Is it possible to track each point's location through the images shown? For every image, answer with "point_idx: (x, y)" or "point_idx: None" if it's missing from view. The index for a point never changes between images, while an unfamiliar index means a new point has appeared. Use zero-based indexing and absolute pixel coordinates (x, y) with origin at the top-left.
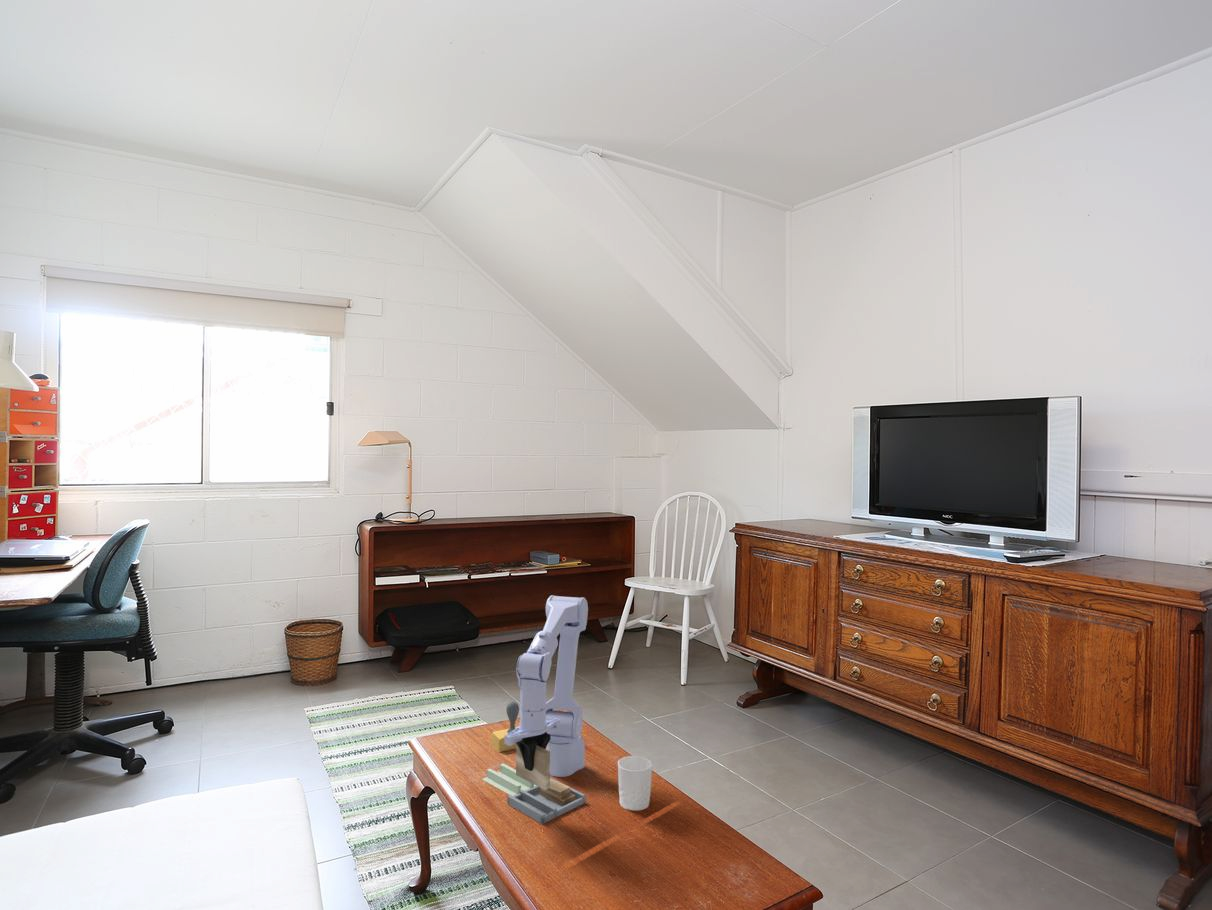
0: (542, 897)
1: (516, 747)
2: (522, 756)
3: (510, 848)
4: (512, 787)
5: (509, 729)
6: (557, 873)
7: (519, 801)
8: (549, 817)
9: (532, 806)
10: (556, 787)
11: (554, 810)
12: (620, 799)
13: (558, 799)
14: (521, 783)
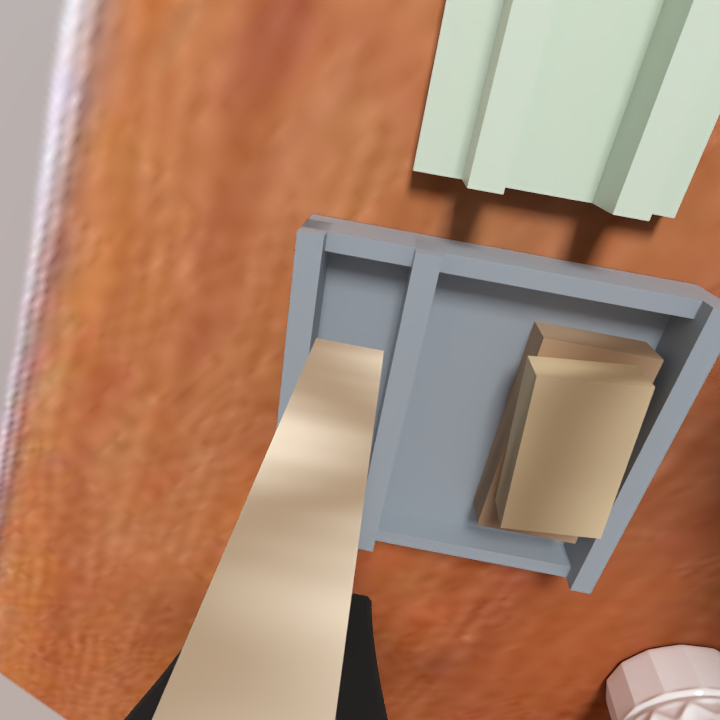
0: (5, 667)
1: (213, 582)
2: (151, 691)
3: (70, 471)
4: (480, 112)
5: None
6: (111, 653)
7: (296, 349)
8: None
9: (382, 368)
10: (548, 480)
11: None
12: (646, 696)
13: (488, 489)
14: (635, 76)
